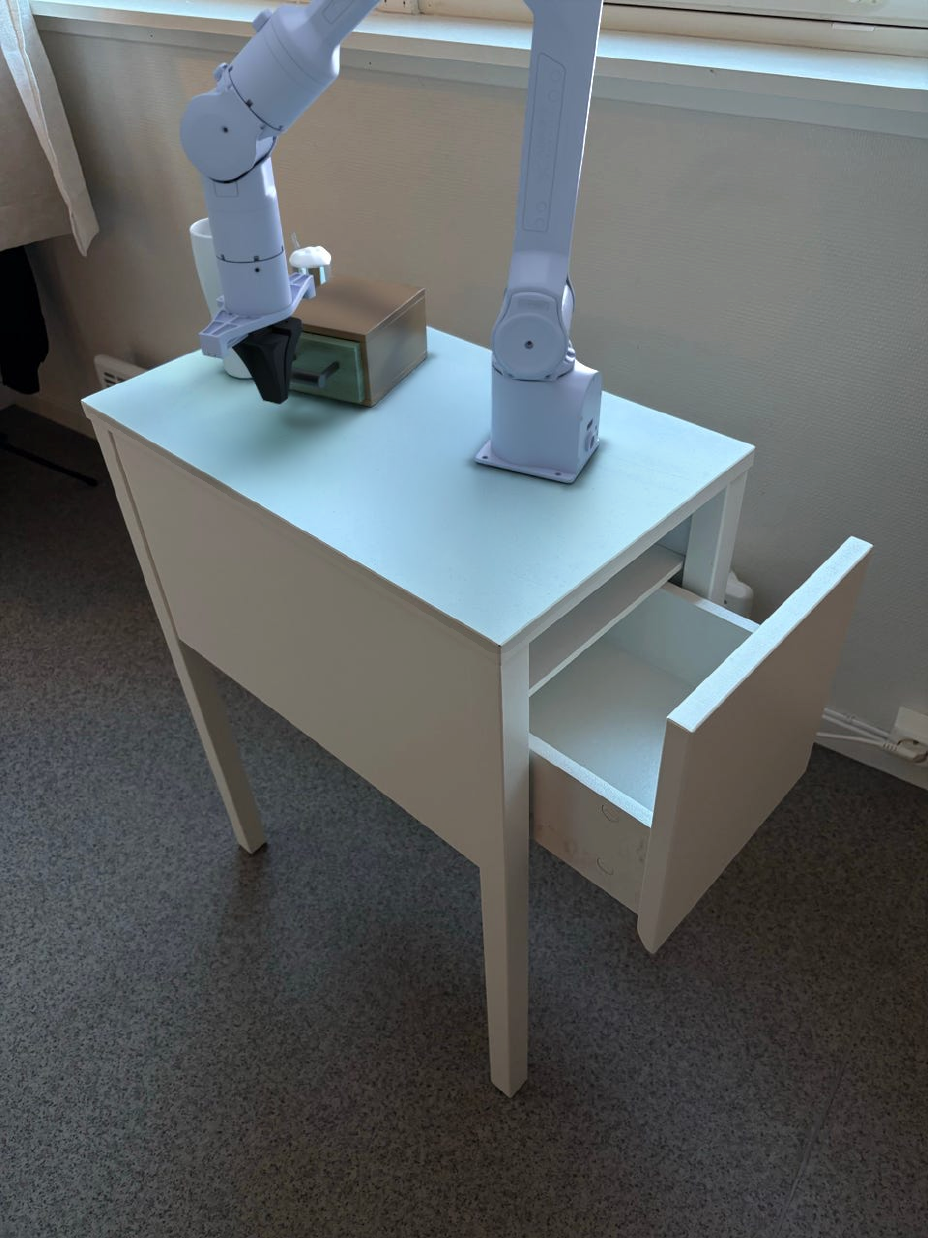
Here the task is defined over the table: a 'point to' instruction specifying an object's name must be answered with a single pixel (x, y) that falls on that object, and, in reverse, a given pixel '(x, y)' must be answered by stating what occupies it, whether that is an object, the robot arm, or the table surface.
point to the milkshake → (311, 262)
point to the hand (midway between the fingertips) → (275, 399)
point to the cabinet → (371, 326)
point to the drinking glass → (212, 286)
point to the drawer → (328, 367)
